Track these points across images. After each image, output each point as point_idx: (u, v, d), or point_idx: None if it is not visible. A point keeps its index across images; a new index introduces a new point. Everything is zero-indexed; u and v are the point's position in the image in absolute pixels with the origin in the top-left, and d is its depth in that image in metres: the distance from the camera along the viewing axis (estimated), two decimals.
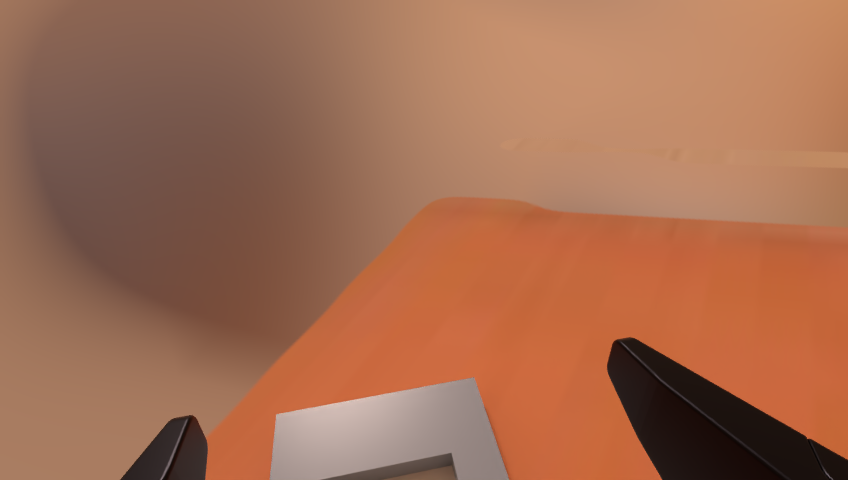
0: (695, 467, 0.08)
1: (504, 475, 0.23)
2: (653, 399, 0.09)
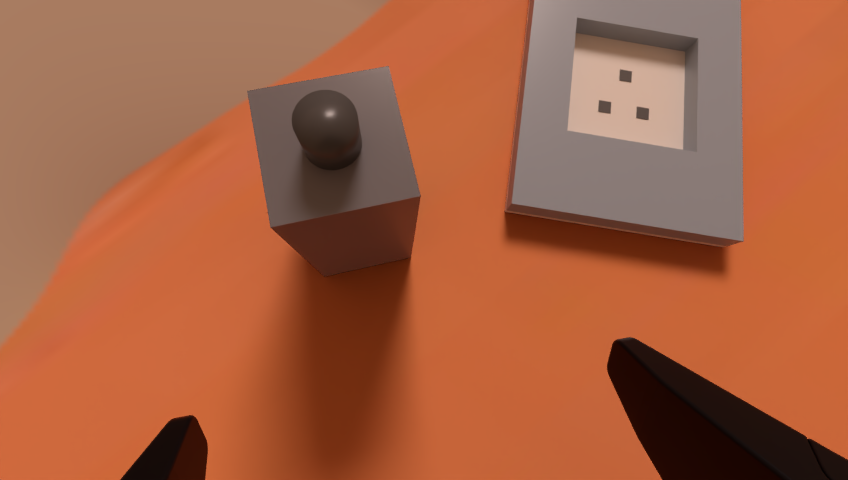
0: (695, 467, 0.08)
1: (738, 72, 0.25)
2: (653, 399, 0.09)
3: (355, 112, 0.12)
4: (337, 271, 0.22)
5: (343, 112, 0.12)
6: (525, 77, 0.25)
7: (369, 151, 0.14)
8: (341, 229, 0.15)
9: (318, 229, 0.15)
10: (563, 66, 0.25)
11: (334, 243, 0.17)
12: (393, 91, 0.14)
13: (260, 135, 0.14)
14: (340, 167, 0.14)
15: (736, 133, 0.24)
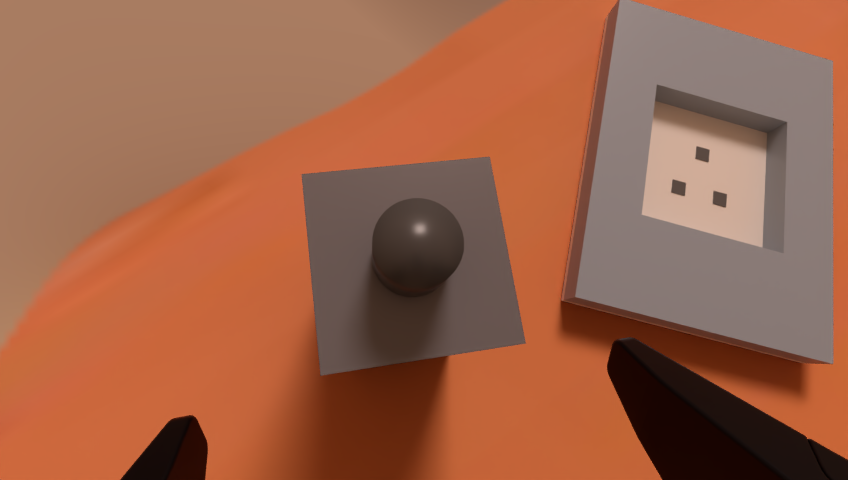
0: (695, 467, 0.08)
1: (830, 165, 0.22)
2: (653, 399, 0.09)
3: (461, 235, 0.09)
4: None
5: (444, 234, 0.09)
6: (596, 147, 0.21)
7: (460, 274, 0.10)
8: None
9: None
10: (640, 138, 0.22)
11: None
12: (494, 192, 0.11)
13: (315, 239, 0.10)
14: (420, 293, 0.10)
15: (826, 235, 0.21)
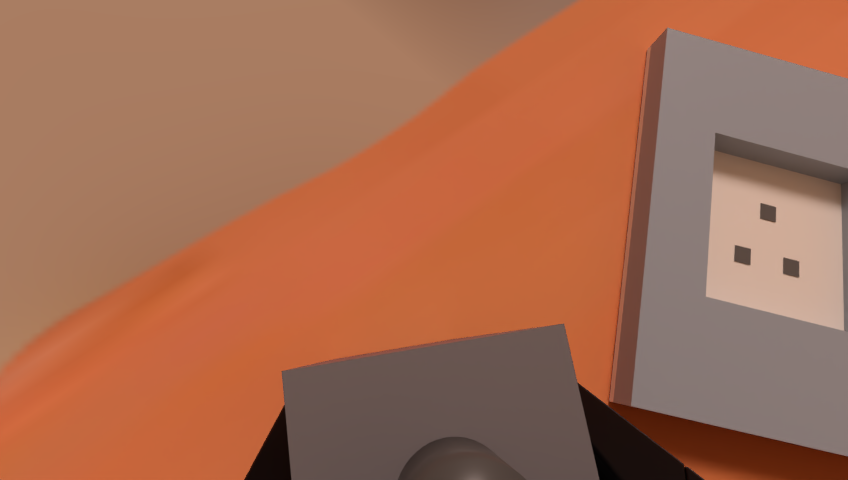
0: None
1: None
2: None
3: None
4: None
5: None
6: (647, 212, 0.18)
7: None
8: None
9: None
10: (699, 200, 0.18)
11: None
12: (574, 381, 0.07)
13: None
14: None
15: None
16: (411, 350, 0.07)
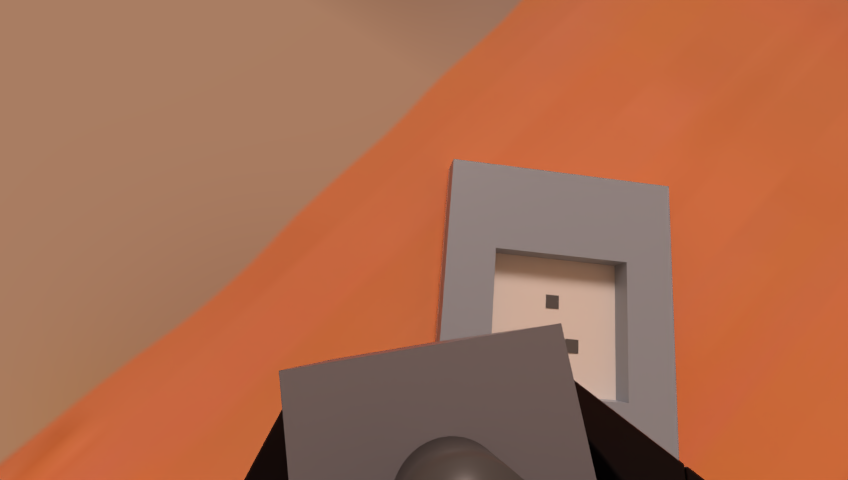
0: None
1: (670, 300, 0.23)
2: None
3: None
4: None
5: None
6: (440, 327, 0.22)
7: None
8: None
9: None
10: (482, 310, 0.22)
11: None
12: (571, 381, 0.07)
13: None
14: None
15: (669, 375, 0.23)
16: (408, 349, 0.07)
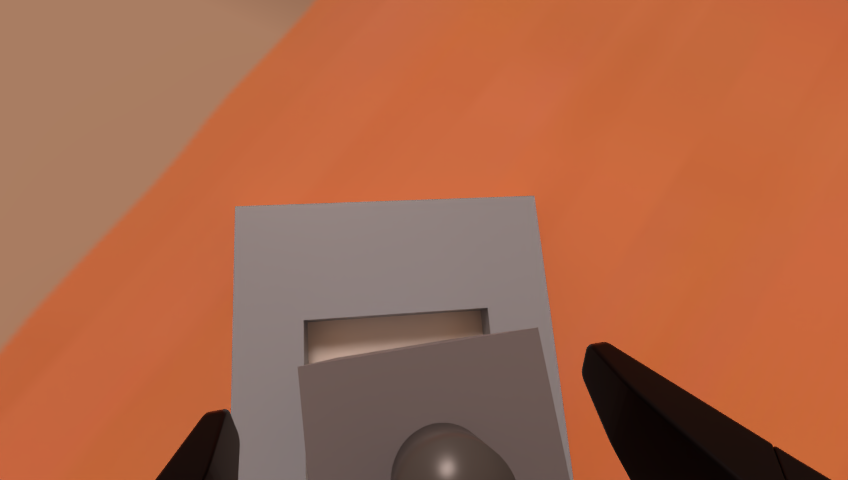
0: (664, 474, 0.08)
1: (551, 349, 0.17)
2: (624, 405, 0.09)
3: None
4: None
5: None
6: None
7: None
8: None
9: None
10: (290, 413, 0.16)
11: None
12: (546, 376, 0.08)
13: (316, 460, 0.08)
14: None
15: None
16: (407, 349, 0.08)
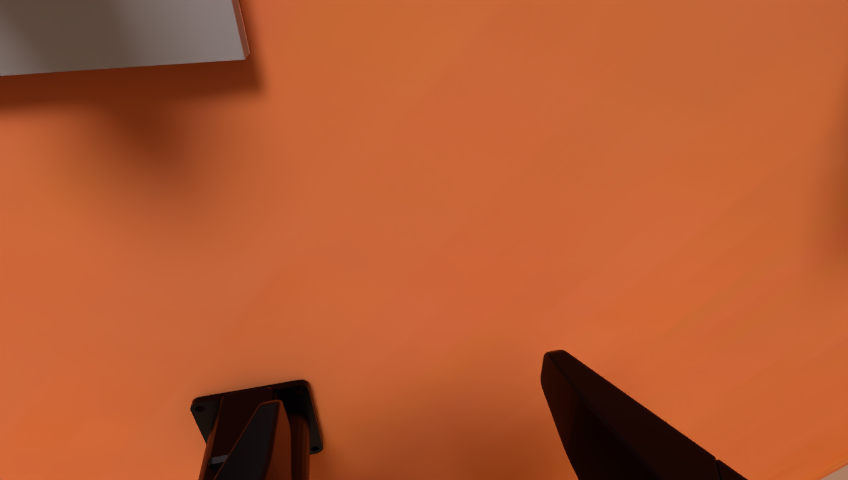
0: None
1: None
2: (576, 415, 0.09)
3: None
4: None
5: None
6: None
7: None
8: None
9: None
10: None
11: None
12: None
13: None
14: None
15: None
16: None
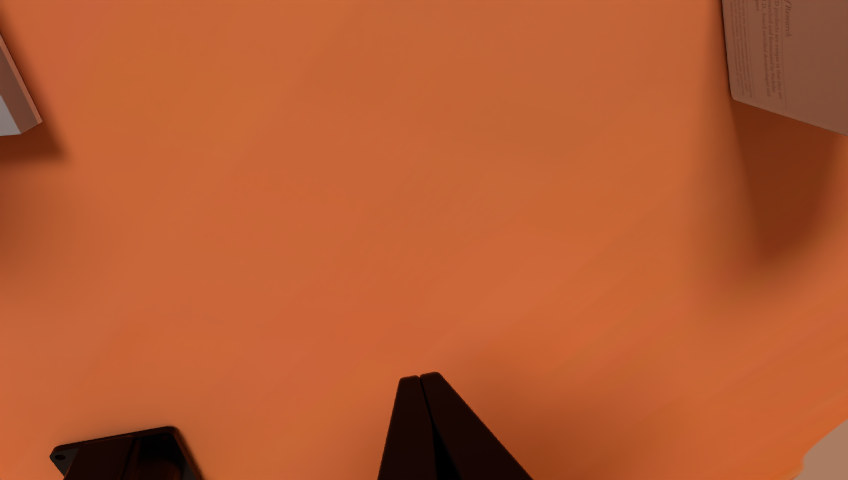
0: None
1: None
2: (435, 443, 0.08)
3: None
4: None
5: None
6: None
7: None
8: None
9: None
10: None
11: None
12: None
13: None
14: None
15: None
16: None
